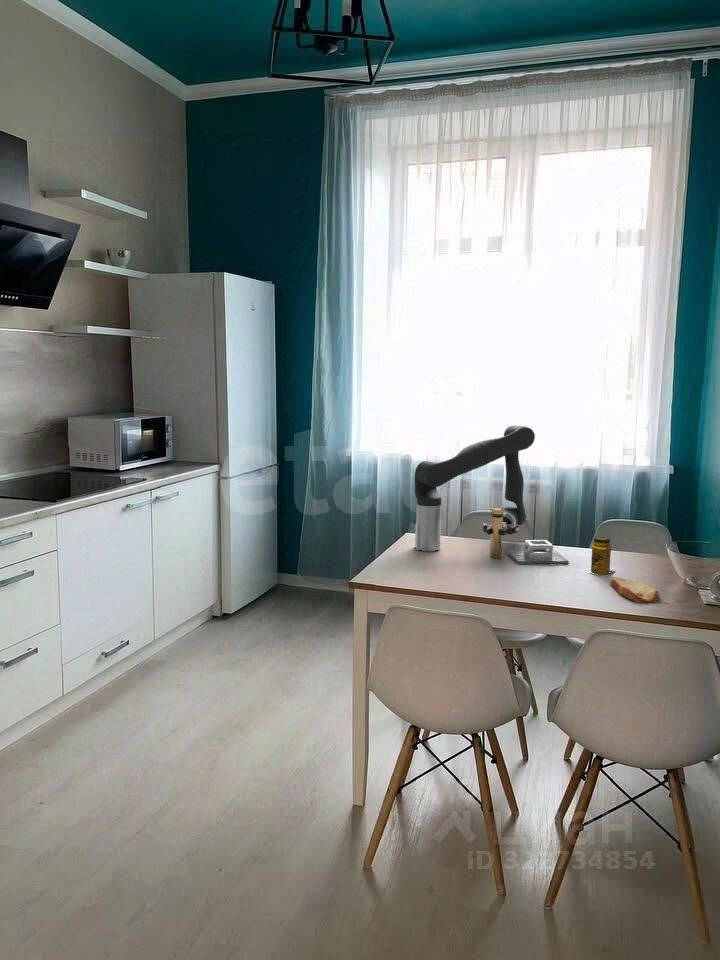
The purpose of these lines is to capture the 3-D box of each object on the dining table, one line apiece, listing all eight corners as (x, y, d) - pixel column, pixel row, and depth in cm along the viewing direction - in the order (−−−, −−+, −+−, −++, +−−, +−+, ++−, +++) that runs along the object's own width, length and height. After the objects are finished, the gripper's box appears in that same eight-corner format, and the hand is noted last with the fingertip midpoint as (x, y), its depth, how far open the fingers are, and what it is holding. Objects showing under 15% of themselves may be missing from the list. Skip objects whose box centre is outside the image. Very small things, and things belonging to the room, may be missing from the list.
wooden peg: (490, 559, 265) (492, 510, 262) (488, 556, 269) (490, 507, 266) (502, 559, 265) (504, 510, 262) (500, 556, 269) (502, 508, 267)
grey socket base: (517, 564, 258) (518, 547, 257) (508, 554, 272) (509, 538, 271) (568, 564, 259) (569, 547, 258) (556, 554, 273) (557, 538, 272)
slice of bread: (613, 582, 239) (614, 571, 239) (670, 593, 228) (671, 581, 227) (591, 594, 226) (592, 582, 225) (651, 607, 214) (652, 594, 214)
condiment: (586, 573, 248) (588, 538, 246) (594, 568, 255) (596, 534, 253) (608, 577, 244) (610, 541, 242) (615, 571, 251) (618, 537, 249)
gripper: (486, 512, 281) (475, 520, 265) (523, 515, 276) (515, 523, 260) (485, 531, 282) (475, 540, 266) (522, 534, 277) (514, 544, 261)
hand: (495, 532), depth 263 cm, fingers closed on wooden peg, 4 cm apart
